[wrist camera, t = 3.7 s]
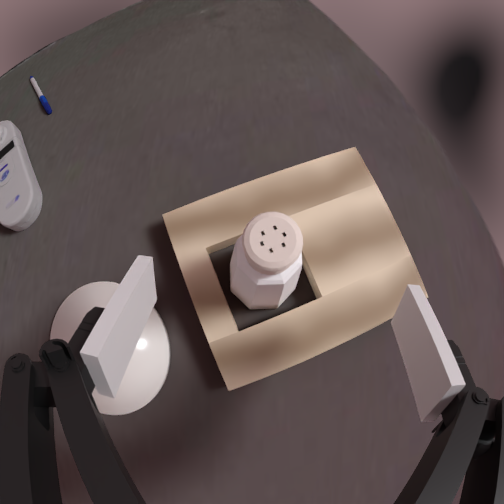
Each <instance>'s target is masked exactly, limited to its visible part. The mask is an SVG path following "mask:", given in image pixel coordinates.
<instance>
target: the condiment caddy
mask: <svg viewBox="0 0 504 504" xmlns="http://www.w3.org/2000/svg"><path fill="white" fill-rule="evenodd" d="M265 212H279V213H283V214H285V215H287V216H289V217H290V218H292V219H293V220H294V221H295V222H296V223H297V225H298V226H299V228H300V230H301V233H302V235H303V247H302V266H303V269H304V271H305V273H306V275H307V278H308V280H309V282H310V285H311V287H312V289H313V292H314V294H315V296H316V300H314V301H311V302H309V303H307V304H304V305H302V306H300V307H297V308H295V309H293V310H290V311H288V312H286V313H283V314H281V315H278V316H276V317H274V318H271V319H269V320H266V321H264V322H261V323H259V324H256V325H254V326H251V327H249V328H246V329H244V330H241V331H239V330H238V327H237V325H236V323H235V320H234V318H233V315H232V313H231V310H230V308H229V305H228V303H227V300H226V297H225V295H224V292H223V290H222V287H221V285H220V282H219V280H218V277H217V274H216V272H215V269H214V267H213V264H212V261H211V259H210V256H209V254H210V253H213V252H215V251H218V250H221V249H223V248H226V247H228V246H231V245H233V244H235V243H236V241H237V239H238V238H239V237H240V236H241V235H242V234H243V231H244V229H245V227H246V225H247V223H248V222H249V221H250V220H251V219H252V218H253V217H255V216H257V215H259V214H261V213H265ZM163 218H164V222H165V225H166V228H167V231H168V234H169V237H170V240H171V243H172V246H173V248H174V251H175V254H176V257H177V260H178V263H179V266H180V269H181V271H182V274H183V277H184V280H185V282H186V285H187V288H188V291H189V293H190V296H191V299H192V301H193V304H194V307H195V309H196V312H197V315H198V317H199V320H200V322H201V325H202V328H203V330H204V333H205V335H206V338H207V340H208V343H209V345H210V348H211V350H212V353H213V355H214V357H215V360H216V362H217V365H218V367H219V369H220V372H221V374H222V377H223V379H224V381H225V384H226V386H227V388H228V391H230V390H233V389H236V388H239V387H241V386H244V385H247V384H249V383H252V382H254V381H257V380H260V379H262V378H265V377H267V376H270V375H272V374H275V373H277V372H279V371H282V370H284V369H287V368H289V367H291V366H294V365H296V364H298V363H301V362H303V361H305V360H307V359H310V358H312V357H314V356H316V355H319V354H321V353H323V352H325V351H327V350H329V349H332V348H334V347H336V346H338V345H340V344H342V343H344V342H346V341H348V340H350V339H352V338H354V337H356V336H358V335H360V334H362V333H364V332H366V331H368V330H370V329H372V328H374V327H376V326H378V325H380V324H382V323H383V322H385V321H387V320H389V319H391V318H393V317H394V315H395V313H396V310H397V308H398V306H399V304H400V301H401V299H402V297H403V294H404V292H405V289H406V287H407V285H408V284H410V285H420V287H421V289H422V291H423V293H424V295H425V296H426V298H428V295H427V292H426V290H425V287H424V285H423V282H422V280H421V277H420V275H419V273H418V270H417V268H416V266H415V263H414V261H413V259H412V256H411V254H410V252H409V250H408V247H407V245H406V243H405V241H404V239H403V237H402V234H401V232H400V230H399V228H398V226H397V224H396V222H395V220H394V218H393V216H392V214H391V212H390V210H389V208H388V206H387V204H386V202H385V200H384V198H383V196H382V194H381V192H380V190H379V189H378V187H377V185H376V183H375V181H374V179H373V177H372V176H371V174H370V172H369V170H368V168H367V167H366V165H365V163H364V161H363V160H362V158H361V156H360V154H359V153H358V151H357V149H356V148H355V147H353V148H350V149H347V150H343V151H340V152H337V153H334V154H330V155H327V156H324V157H321V158H318V159H315V160H311V161H308V162H305V163H302V164H299V165H296V166H293V167H290V168H287V169H284V170H281V171H278V172H275V173H272V174H269V175H267V176H264V177H261V178H258V179H255V180H252V181H249V182H247V183H244V184H241V185H238V186H236V187H233V188H230V189H227V190H225V191H222V192H219V193H217V194H214V195H211V196H209V197H206V198H204V199H201V200H198V201H196V202H193V203H191V204H188V205H185V206H183V207H180V208H178V209H175V210H173V211H170V212H168V213H165V214H163Z"/></svg>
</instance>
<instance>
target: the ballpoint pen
mask: <svg viewBox="0 0 504 504" xmlns="http://www.w3.org/2000/svg"><path fill="white" fill-rule="evenodd" d="M30 81H31V83H32V85H33V87H34V89H35V91H36V93H37V95H38V97H39V100H40V101H41V103H42V105H43V107H44V109H45V111H46V112H47V113H48V114H51V113H52V110H51V107H50V106H49V104H48V102H47V100H46V98H45V96H44V95H43V94H42V92H41V90H40V88H39V86H38V84H37V82H36V81H35V79H34V77H32V76H30Z"/></svg>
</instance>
